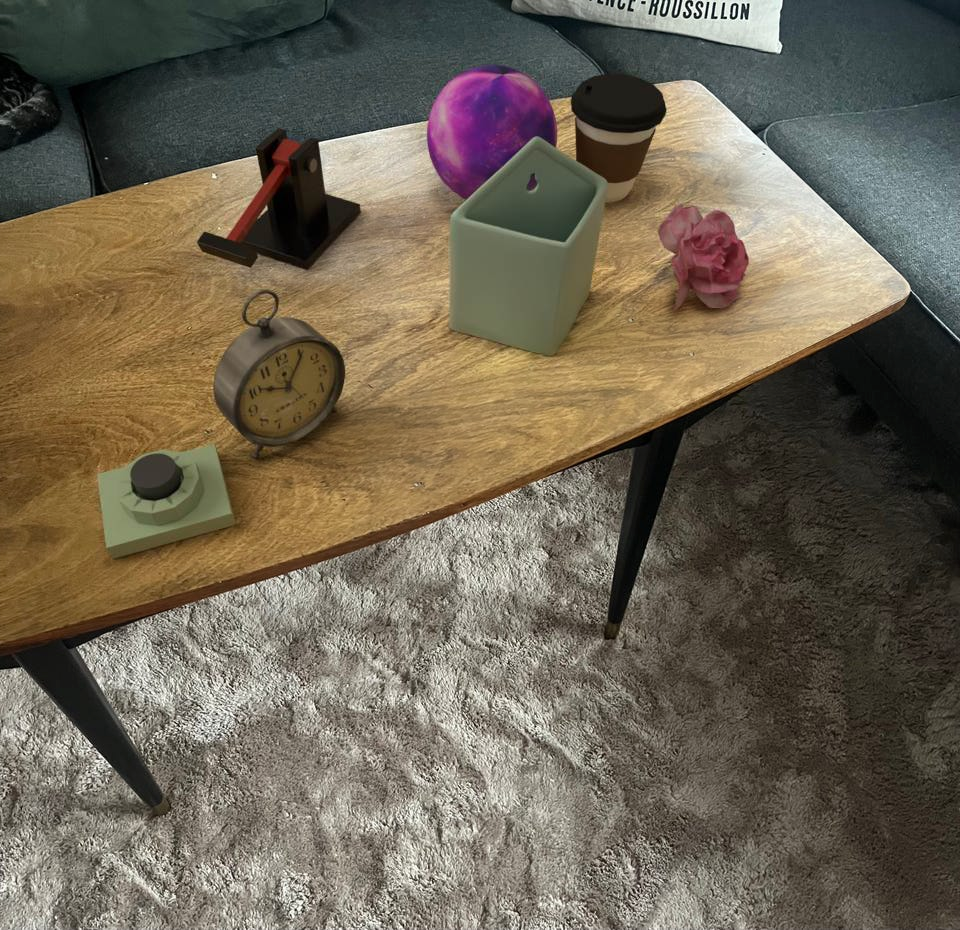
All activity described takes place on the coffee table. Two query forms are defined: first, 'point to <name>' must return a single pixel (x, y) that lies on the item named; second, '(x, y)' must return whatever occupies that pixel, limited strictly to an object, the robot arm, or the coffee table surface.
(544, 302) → the planter
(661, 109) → the coffee cup
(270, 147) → the lever stand
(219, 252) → the red lever
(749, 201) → the coffee table surface
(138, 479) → the call button
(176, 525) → the call button base
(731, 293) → the flower
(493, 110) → the decorative orb
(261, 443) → the alarm clock
